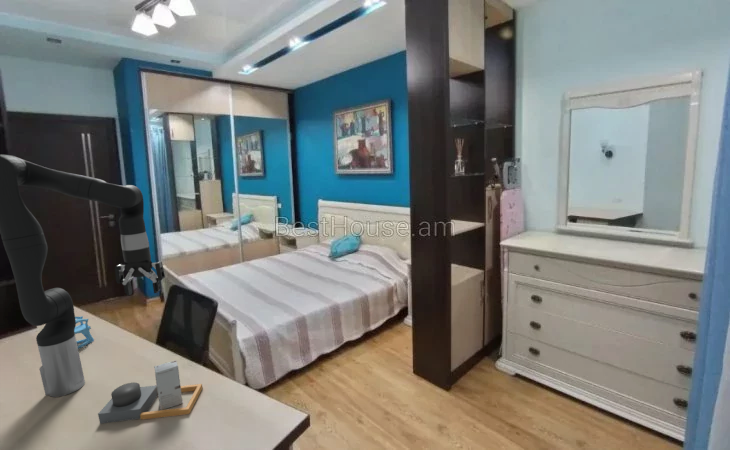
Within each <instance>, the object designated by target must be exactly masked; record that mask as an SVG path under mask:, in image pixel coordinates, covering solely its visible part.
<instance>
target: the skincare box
mask: <svg viewBox="0 0 730 450" xmlns="http://www.w3.org/2000/svg"><path fill="white" fill-rule="evenodd" d="M153 367H154V375H155V381H156V382H155V383H156V385H157V391H158V396H157V398H158V404H159V410H168V409H171V408H172V407H176V406H178V405H181V404H182V403H183V396H182V392H181V386H182V385H181V379H180V371H179V365H178V361H177V360H173V361H169V362H164V363H161V364H159V365H154V366H153Z"/></svg>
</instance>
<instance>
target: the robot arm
mask: <svg viewBox="0 0 730 450" xmlns="http://www.w3.org/2000/svg"><path fill="white" fill-rule="evenodd" d="M19 186H20V187H35V188H41V189H47V190H51V191H54V192H56V193H57V192H58V193H61V194H63V195H66V196H69V197H73V198H77V199H82V200H88V201H91V202H93V201H94V202H98V203H101V204H104V205H107V206H110V207H114V208H119V209H120V216H119V219H118V228H119V234H120V244H121V250H122V257H123V261H124V264H122V263H119V264H117V265H116V266H114V275H115V282H116V283H117V284H119V285H120V284H122V285H123V289H124V294H126V296H131V295H133V287H132V283H131V281H132V279H133V278H138V277H139V278H141V277H143V278H144V277H146V278H147V279H150V281H152V288H153V293H154V294H158V293H159V292H160V290H161V283H160V281H162V280H164V279H165V277H166V274H165V269H164V265H163V262H162V261H160V260H159V261H157V262H152V256H151V250H150V242H149V238H148V237H149V236H148V234H147V230H146V224H145V219H144V214H145V213H144V203H145V201H144V196H143V193H142V191H141V189H140V188H139V187H137V186H135V185H132V184H126V185H119V184H115V183H111V182H110V183H109V182H107V181H105V180H103V179H100V178H95V177H92V176H88V175H81V174H76V173H71V172H65V171H62V170H58V169H57V170H56V169H52V168H48V167H46V166H45V167H44V166H42V165H39V164H36V163H33V162H31V161H28V160H25V159H22V158H20V157H17V156H15V155H10V154H0V237H1V240H2V243H3V247H4V250H5V254H6V255H7V258H8V260H9V261H8V262H9V263H10V266H11V270H12V274H13V278H14V281H15V288H16V291H17V298H18V302H19V307H20V311H21V314H22V316H23V318H24V320H25V321H26V322H27V323H28V324H30V325H31V326H35V327H39V326H44V327H43V328H41V330H40V331H39V333H37V335H36V337H35V338H36V345H37V348H38V353H39V357H40V361H41V362H40V363H41V366H40V367H39V374H40V376H41V377H40V378H41V382H42V385H43V390H44V393H45V394H44V395H45V396H50V397H53V398H56V397H62V396H67V395H69V394H72V393H74V392H76V391H78V390H80V389H81V388H83V386H84V385H85V383H86V380H85V375H84V371H83V367H82V361H81V356H80V352H79V349H78V346H79V345H78V344H77V342H76V341H77V338H76V334H75V332H74V329H75V327H76V326H77V324H76V321H75V320H76V319H75V317H76V315H75V307H74V302H73V299H72V296H71V295H70V293H69V292H68V291H66V290H65V289H64V288H61V287H54V288H49V289H47V290H44V287H43V281H42V278H43V277H42V275H43V270H44V266H45V263H46V261H47V256H48V248H49V246H48V243H47V240H46V236H45V233H44V230H43V228H42V226H41V224H40V222H39V221H38V220H37V218H36V217H35V216H34V214H33V213H32V212H31V211H30V210H29V208H28V207H27V206H26V204H25V202H24V200H23V198H22V196H21V192H20V188H19ZM153 268H154V269H155V271H156V272H155V271H154V270H153ZM124 271H126V272H127V274H126V276H125V274H124ZM124 276H125V277H124Z"/></svg>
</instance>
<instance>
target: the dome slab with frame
mask: <svg viewBox="0 0 730 450" xmlns="http://www.w3.org/2000/svg"><path fill="white" fill-rule="evenodd" d="M180 386H181V393H187V392H193V394H192V395H191V397H190V399H189V402H188V403H187V405H186V406H185V407H178V408H167V409H164V410H160V409H159V410H152V411H149V409H150V407H151V406H152V404H153V403H154V402H155V400H156V399H157V398H158V391H157V384H156V385H155V384H154V385H147V386H140V383H138V382H128V383H125V384H124V383H123V384H122V385H119V386H117V387H116V388H114V390H113V391H112V392H111V395H110V396H111V398H110V399H109V400H108V402H107V403H106V404H105V406H103V407H102V409H101V410H100V411H99V412H98V413H97V415H98V420H99V421H98V422H99V424H107V423H114V422H115V423H116V422H124V421H125V422H126V421H131V420H132V421H133V420H141V421H142V420H149V419H150V420H151V419H157V418H158V419H159V418H167V417H174V416H176V417H177V416H182V415H189V414H190V413H191V411H192V410H193V408H194V406H195V404H196V401H197V400H198V398H199V396H200V394H201V392H202V390H203V383H197V384H188V385H187V384H186V385H180Z"/></svg>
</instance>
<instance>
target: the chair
mask: <svg viewBox="0 0 730 450" xmlns="http://www.w3.org/2000/svg"><path fill="white" fill-rule="evenodd" d="M75 321H76V326H75V329H74V332H75V335H76V334H82V335H83V336H84V337H85V338H83V339H80V340H76V342H77V346H78V350H79V349H81V348H83V347H85V346H86V345H88V344H90V343H93V342H95V339H94V336H92V334H91V333H90V329H92V328H91V326H89V325H88V322H89V318H84V315H83V316H75ZM84 322H85V323H84ZM79 323H80V324H79ZM77 324H79V325H77ZM78 344H79V345H78Z"/></svg>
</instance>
